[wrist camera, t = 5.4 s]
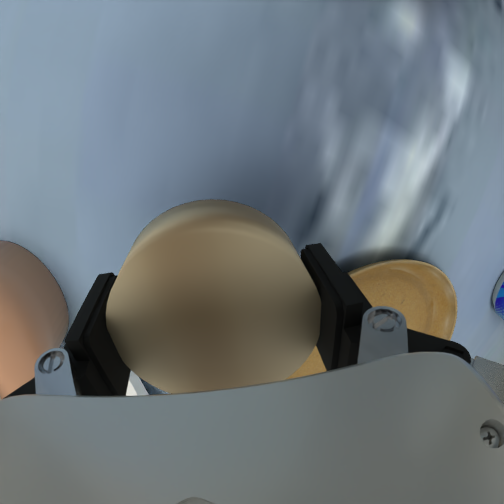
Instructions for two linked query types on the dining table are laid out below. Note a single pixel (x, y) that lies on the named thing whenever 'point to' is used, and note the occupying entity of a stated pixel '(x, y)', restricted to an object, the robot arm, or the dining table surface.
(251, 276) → the stopper
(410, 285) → the plant saucer
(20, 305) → the orange jar
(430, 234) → the dining table surface
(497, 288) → the beer can
